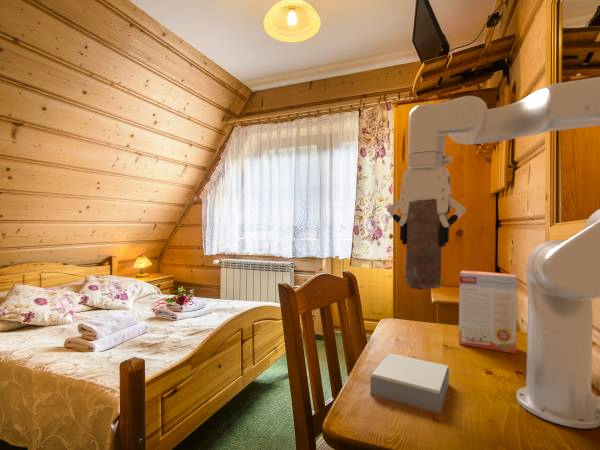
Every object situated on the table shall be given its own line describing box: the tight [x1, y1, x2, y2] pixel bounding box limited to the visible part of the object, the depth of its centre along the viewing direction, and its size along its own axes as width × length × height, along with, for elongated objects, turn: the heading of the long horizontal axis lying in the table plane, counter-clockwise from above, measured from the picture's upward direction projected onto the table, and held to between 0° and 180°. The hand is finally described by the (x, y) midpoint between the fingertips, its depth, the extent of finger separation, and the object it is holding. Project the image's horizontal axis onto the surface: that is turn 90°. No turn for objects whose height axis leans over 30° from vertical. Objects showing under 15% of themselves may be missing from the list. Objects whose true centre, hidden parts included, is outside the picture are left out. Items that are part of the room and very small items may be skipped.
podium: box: [369, 352, 450, 415], centre depth 68 cm, size 13×13×4 cm
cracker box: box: [458, 270, 518, 355], centre depth 94 cm, size 14×6×21 cm, turn 59°
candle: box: [404, 199, 442, 291], centre depth 72 cm, size 8×7×20 cm
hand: (423, 244), depth 72 cm, fingers closed on candle, 7 cm apart
